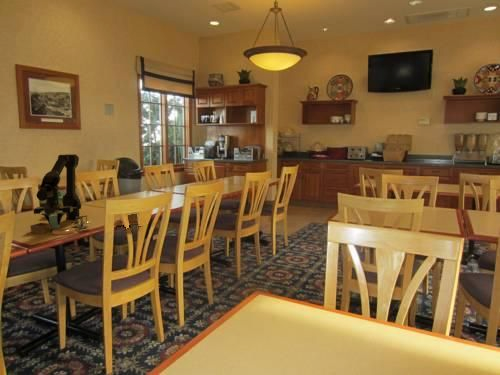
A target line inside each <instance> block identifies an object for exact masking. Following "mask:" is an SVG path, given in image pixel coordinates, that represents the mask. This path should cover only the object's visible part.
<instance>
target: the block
mask: <svg viewBox="0 0 500 375" xmlns="http://www.w3.org/2000/svg"><path fill="white" fill-rule="evenodd" d="M48 224H51V230H52V229H53V230H55V229H59V228H61V227H60V226H61V225H60V224H61V223H60V224H59V225H58V215H50V216H49V223H48Z"/></svg>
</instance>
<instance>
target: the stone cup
mask: <svg viewBox="0 0 500 375" xmlns="http://www.w3.org/2000/svg"><path fill="white" fill-rule="evenodd" d="M121 219H122V218H120V219H117V220H115V221H114V225H115V227H124V226H123V225H122V221H121ZM128 219H129V223H130V226H136V225H139V224H138V223H137V214H131V215H128ZM130 226H129V227H130Z"/></svg>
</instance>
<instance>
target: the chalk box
mask: <svg viewBox="0 0 500 375" xmlns="http://www.w3.org/2000/svg"><path fill="white" fill-rule="evenodd" d="M61 194H62V193H61V191H60V190H58V198H59V205H60V207H59V208H63V196H64V195H61ZM58 213H59V211H55V212H54V213H50V214H51V215H57V214H58ZM64 215H66V213H64V214H63V216H64Z"/></svg>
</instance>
